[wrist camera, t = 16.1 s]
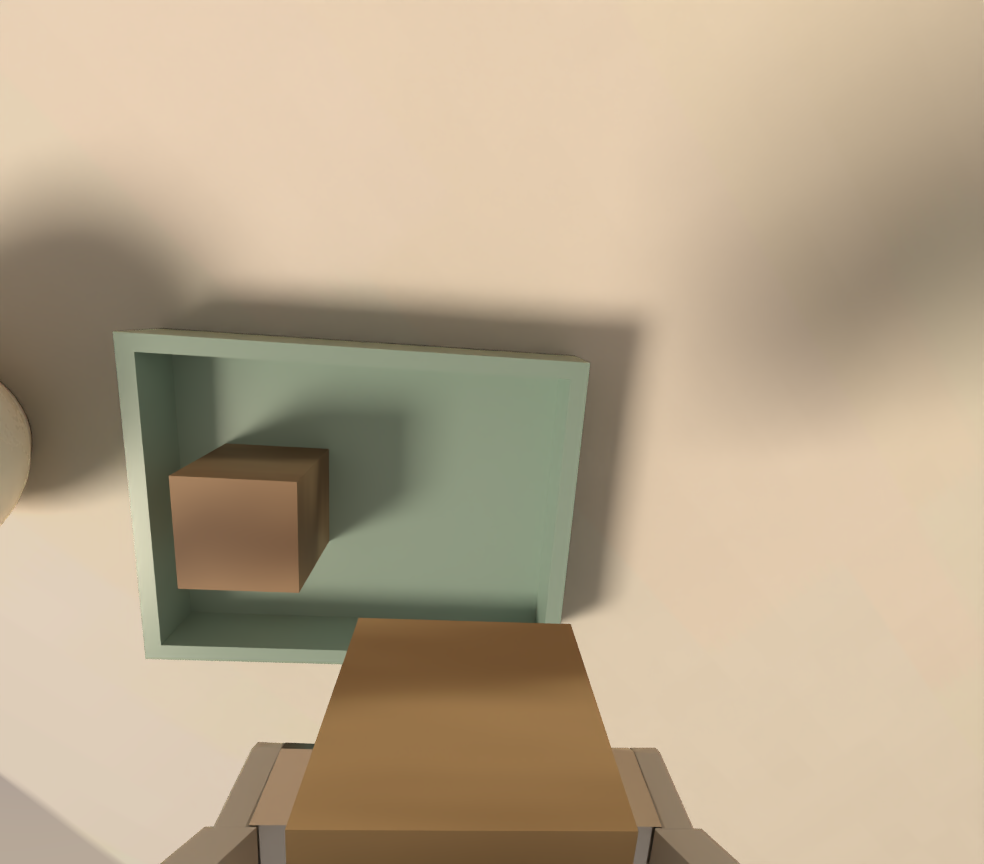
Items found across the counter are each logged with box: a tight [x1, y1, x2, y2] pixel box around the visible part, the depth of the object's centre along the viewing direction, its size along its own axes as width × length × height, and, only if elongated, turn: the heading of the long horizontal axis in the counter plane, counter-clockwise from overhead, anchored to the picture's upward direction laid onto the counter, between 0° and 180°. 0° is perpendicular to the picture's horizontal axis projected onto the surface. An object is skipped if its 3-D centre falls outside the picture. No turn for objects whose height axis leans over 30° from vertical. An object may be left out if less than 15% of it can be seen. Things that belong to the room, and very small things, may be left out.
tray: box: [113, 328, 590, 664], centre depth 23 cm, size 14×18×3 cm
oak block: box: [285, 618, 639, 864], centre depth 9 cm, size 4×4×4 cm
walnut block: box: [169, 443, 329, 593], centre depth 21 cm, size 4×4×4 cm
